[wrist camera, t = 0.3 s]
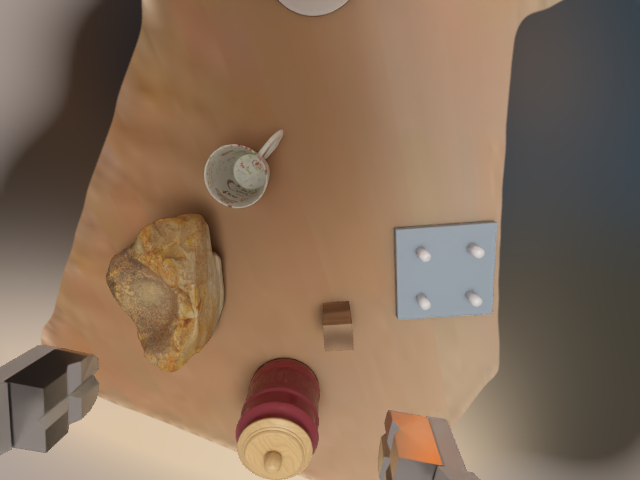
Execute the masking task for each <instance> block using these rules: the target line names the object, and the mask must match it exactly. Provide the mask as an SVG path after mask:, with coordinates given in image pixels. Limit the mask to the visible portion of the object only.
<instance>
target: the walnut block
mask: <svg viewBox="0 0 640 480" xmlns="http://www.w3.org/2000/svg"><path fill="white" fill-rule="evenodd" d="M323 334H324V346H325V351H342V350H354V346H353V330H352V320H351V313H350V306H349V301H346V302H331V303H323Z"/></svg>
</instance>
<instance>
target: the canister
mask: <svg viewBox="0 0 640 480" xmlns="http://www.w3.org/2000/svg"><path fill="white" fill-rule="evenodd" d="M319 398H320V390H319V385H318V382H317V378H316V376H315V374H314V373H313V372H312V370H311V369H310V368H309V367H307V366H306V365H305V364H303V363H301V362H299V361H296V360H293V359H276V360H272V361H270V362H267V363H266V364H264V365H263V366H262V367H260V368H259V370H258V371H257V372H256V374H255V375H254V377H253V378H252V381H251V384H250V387H249V393H248V396H247V399H246V403H245V404H244V406H243V409H242V412H241V418H240V420H239V422H238V424H237V427H236V441H237V451H238V455H239V458H240V460H241V462H242V463H243V465H244V466H245V467H246V468H247V469H248V470H249V471H251V472H252V473H254V474H255V475H257V476H260V477H263V478H266V479H272V480H282V479H287V478H290V477H293V476H296V475H297V474H299V473H301V472H302V471H303V470H304V469H305V468H306V467H307V466H308V464H309V463H310V460H311V458H312V455H313V454H314V452H315V450H316V448H317V445H318V440H319V435H318V425H319V417H318V403H319Z"/></svg>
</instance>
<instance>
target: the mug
mask: <svg viewBox="0 0 640 480" xmlns="http://www.w3.org/2000/svg"><path fill="white" fill-rule="evenodd" d="M283 133H284V132H283V130H278V131H277V132H276V133H275V134H273V135H272V136H271V137H270V138H269V140H268V141H267V142H266V143H265V144H264V146H263V147H262V148H261V149H260V151H259V152H258V153H257V152H255V151H254V150H252V149H251V148H249V147H246V146H244V145H239V144H229V145H225V146H222V147H220V148H218V149H217V150H215V151H214V152H213V153H212V154H211V155H210V157H209V158H208V160H207V162H206V165H205V169H204V179H205V183H206V186H207V189H208V191H209V192H210V194H211V195H212V196H213V197H214V198H215V199H216V200H217V201H218V202H220V203H221V204H223V205H225V206H228V207H232V208H244V207H248V206H250V205H252V204H254V203H255V202H257V201H258V200H259V199H260V198H261V197H262V195H263V194H264V192H265V190H266V187H267V184H268V181H269V177H270V168H269V165H268V163H267V161H266V160H265V159H266V158H267V157H268V156H269V155H270V154H271V153H272V152H273V151H274V150H275V149H276V147H277V146H278V144H279V142H280V140H281V138H282V136H283ZM269 147H270V148H269ZM268 148H269V149H268ZM267 149H268V151H267ZM266 151H267V152H266ZM265 152H266V153H265ZM264 153H265V155H264ZM263 155H264V157H262V156H263Z"/></svg>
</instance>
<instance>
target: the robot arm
mask: <svg viewBox="0 0 640 480" xmlns="http://www.w3.org/2000/svg"><path fill="white" fill-rule="evenodd" d="M279 1H280V2H281V3H282V4H283V5H284V6H286V7H287V8H288V9H290V10H292V11H294V12H296V13H299V14H302V15H308V16H319V15H324V14H328V13H331V12H333V11H335V10H337V9H338V8H340V7H341V6H343V5H344V4H345V3H346V2H347V1H348V0H279ZM98 369H99V363H98V358H97V357H96V356H95V355H93V354H88V353H83V352H78V351H74V350H69V349H64V348H58V347H54V346H49V345H39V346H36V347H35V348H33V349H31V350H29V351H27V352H26V353H24V354H22V355H20V356H19V357H17V358H15V359H13V360H12V361H10V362H8V363H7V364H5V365H3V366H1V367H0V455H2V454H4V453H6V452H8V451H9V450H11V449H12V447H13V448H19V449H25V450H31V451H37V452H43V453H46V452H48V451H49V450H50V449H51V448H52V447H53V446H54V445H55V444H56V443H57V442H58V441H59V440H60V439H61V438H62V437H63V436H65V435H66V434H67V433H68V429H69V424H71V423H74V422H76V421H79V420H81V419H82V418H83V417H84V416H85V415H86V414H87V413H88V412H89V411H90V410H91V408H92V406H93V405H94V403H95V401H96V399H97V395H98V392H99V383H98V381H97V380H96V378H95V376H94V374H95V373H96V371H97V370H98ZM385 430H386V433H385V434H384V435H383V436H382V437H381V441H380V446H379V455H378V472H379V478H380V479H381V480H480V479H479V478H478V477H477V476H476V475H475V474H474V473H472V472H468V471H467V470H466V467H465V465H464V462H463V460H462V457H461V455H460V452H459V449H458V447H457V444H456V442H455V439H454V437H453V434H452V432H451V429H450V427H449V424H448V422H447V421H446V420H445V419H442V418H436V417H429V416H426V417H425V416H419V415H414V414H408V413H403V412H397V411H392V410H388V412H387V415H386V419H385Z"/></svg>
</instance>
